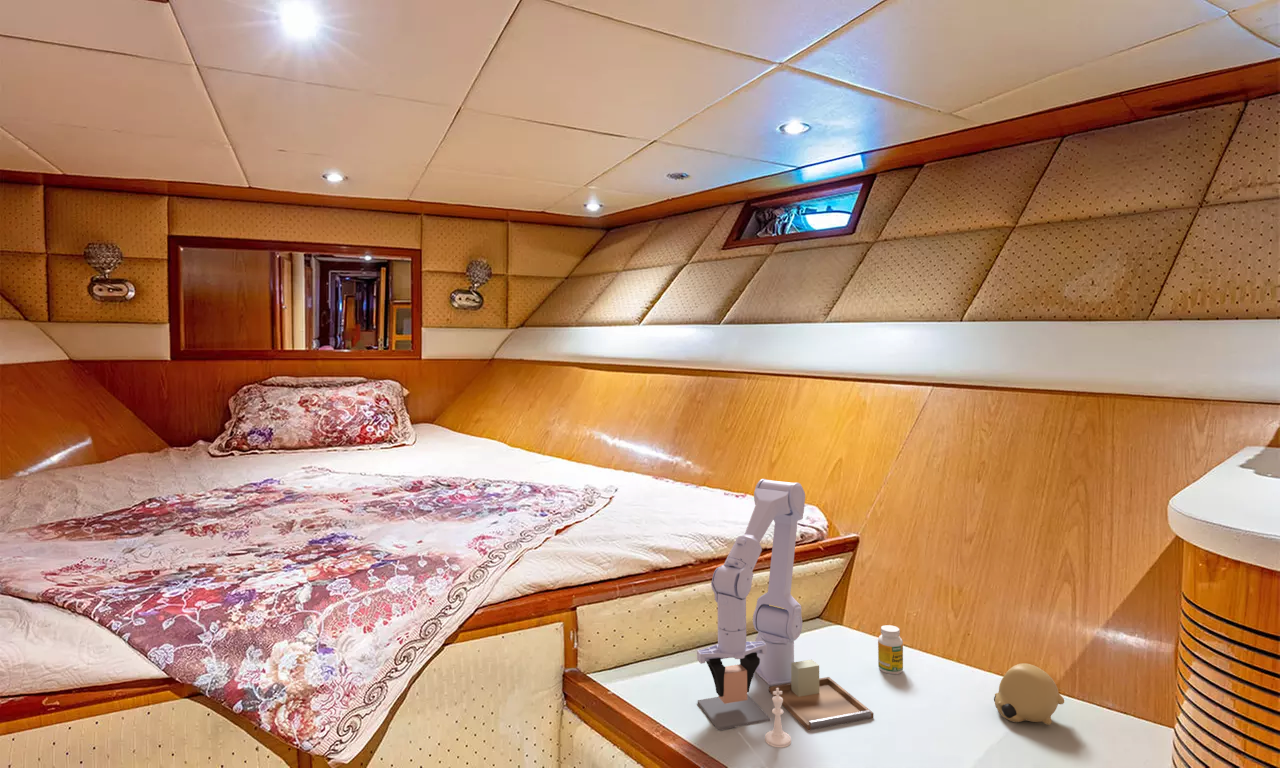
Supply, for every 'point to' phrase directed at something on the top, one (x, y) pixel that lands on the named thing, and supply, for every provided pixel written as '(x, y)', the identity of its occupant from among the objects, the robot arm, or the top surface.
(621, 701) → the top surface
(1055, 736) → the top surface
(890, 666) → the supplement bottle
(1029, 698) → the tan animal figurine
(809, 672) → the khaki rectangular block
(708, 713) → the mat
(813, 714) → the wooden serving tray
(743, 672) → the salmon pink box
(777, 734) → the chess piece
